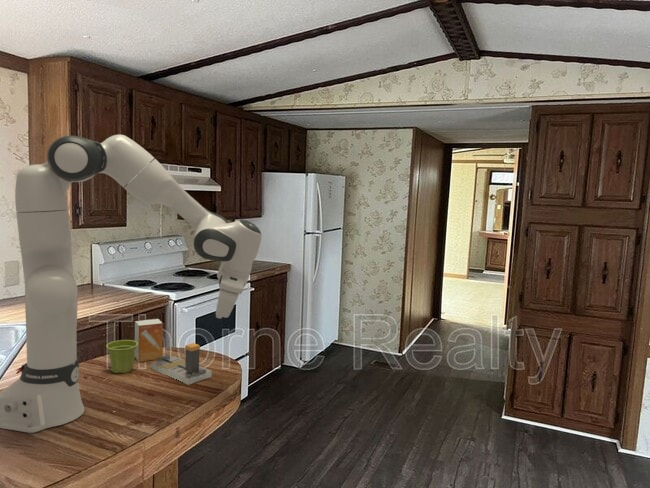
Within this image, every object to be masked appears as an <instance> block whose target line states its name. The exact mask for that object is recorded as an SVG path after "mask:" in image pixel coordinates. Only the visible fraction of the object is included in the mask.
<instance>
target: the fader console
mask: <svg viewBox="0 0 650 488" xmlns="http://www.w3.org/2000/svg"><path fill="white" fill-rule="evenodd" d="M185 360H186V359H183V358H181V357H178V356H175V355H172V356H171V355H169V354H164V355H162V356H161V357H157V359H156V360H153V361H151V362H150V370H153V371H155V372H157V373H160V374H162V375H165V376H167V375H168V376H167V377H169V376H170V377H169V378H171V377H172V379H173V378H174V380H176V379H177V380H176V381H178V380H179V381H178V382H180V381H181V382H180V383H182V382H183V384H184V385H187V386H189V385H192V384H195V383H197V382H201V381H203V380H207V379H209V378H211V377H212V375H213V373H212V372H213V371H212V370H211V369H208V368H206V367H203V366H202V365H201V366H200V365H199V370H198V371H195V372H192V373H190V372H188V371H185Z"/></svg>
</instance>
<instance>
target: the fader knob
mask: <svg viewBox="0 0 650 488" xmlns="http://www.w3.org/2000/svg"><path fill="white" fill-rule="evenodd" d="M184 349H185V359H184V360H185V371H188V372H190V373H192V372H195V371H198V370H199V366H200V349H201V345H200V344H197V343H194V342H193V343H189V344H186V345H184Z"/></svg>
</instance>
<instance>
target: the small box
mask: <svg viewBox="0 0 650 488" xmlns="http://www.w3.org/2000/svg"><path fill="white" fill-rule="evenodd" d="M163 326H164V323H163V322H162V321H161V320H160V318H152V319H144V320H136V321H134V341H136V342H137V343H138V345H137V346H136V350H135V354H134V359H136V360H137V362H138V363H143V362H147V361H157V357H161V356H163V335H164V334H163V328H164V327H163Z"/></svg>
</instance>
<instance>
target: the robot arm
mask: <svg viewBox="0 0 650 488" xmlns="http://www.w3.org/2000/svg"><path fill="white" fill-rule="evenodd" d="M46 159H47V161H45V162H44V163H42V164H41V163H40V164H30V165H27V166H25V167H22V168H21V169H19V171H18V172H17V174H16V178H15V190H14V200H15V201H14V203H15V211H16V212H15V213H16V221H17V232H18V239H19V247H20V254H21V256H20V257H21V261H22V269H23V270H22V271H23V277H24V279H23V280H24V303H25V306H24V307H25V333H26V335H25V337H26V338H25V340H26V342H25V343H26V345H25V346H26V362H25V363H24V364H22V365H21V367H19V368H17V369H15V371H16V373H15V374H16V375H17V374H20V373H21V374H20V377H19V378H18V379H16V380H14V382H13V383H11V384H10V385H8V386H7V387H6V388H5V389H3V390H2V391H1V392H0V429H4V430H10V431H17V432H23V433H28V434H33V433H37V432H41V431H43V430H45V429H49V428H53V427H57V426H61V425H65V424H67V423H70V422H73V421H75V420H77V419H78V418H79V417H81V416H82V415H83V414H84V412H85V407H84V404H83V400H82V397H81V393H80V387H79V386H80V385H79V378H80V362H79V361H80V360H79V358H78V354H77V351H78V349H77V348H78V347H77V328H78V327H77V325H78V303H79V302H78V301H79V300H78V296H79V295H78V294H79V293H78V292H79V288H78V285H77V282H76V280H75V276H74V268H73V253H72V252H73V251H72V250H73V249H72V236H71V235H72V234H71V225H70V213H69V206H68V190H69V187H70V185H73V184H76V183H81V182H86V181H89V180H90V179H92V178H93V177H94V176H95V175H97V174H105V175H107V176H109V177H111V178H112V179H113V180H114V181H115V182H117V184H118V185H120V186H121V187H122V188H123V189H124V190H126V191H127V192H128V193H129V194H130V195H132V197H135V199H137V200H138V201H140V202H142V203H144V204H146V205H162V206H166V207H168V208H171V209H172V210H173V211H174V212H175V213H176V214H178V215H179V216H180V217H182V219H184V220H185V221H186V222H187V223H189V224H190V226H191V227H192V228H193V230H194V232H195V233H194V238H193V248H194V251H195V253H197V255H198V256H199V257H200V258H203V259H205V260H210V261H214V262H216V261H217V262H220V265H219V267H218V271H217V274H216V277H217V279H218V289H219V294H218V298H217V299H218V300H217V304H216V309H215V318H217V319H222V318H229V317H230V315H231V313H232V311H233V309H234V307H235V305H236V302H237V300H238V297H239V295H241V294H243V291H244V289H245V287H246V285H247V283H248V280H249V277H250V275H251V271H252V268H253V263H254V261H255V260H256V258H257V255H258V253H259V250H260V247H261V246H260V245H261V242H262V231H261V230H260V228H259V227H258V226H257V225H256V224H254V223H253V222H251V221H249V220H246V219H239V220H236V221H232V222H229V220H227V219H226V218H225V217H224V216H222V215H220V214H219V213H216V212H213V211H210V209H209V210H208V209H207V208H206V207H204V206H203V205H202V204H201V203H199V201H198V200H196V199H195V198H194V197H193V196H192V195H190V194H189V193H188V192H187V191H186V190H185V189H184V188H183V187H181V185H180V184H179V183H178V182H177V181H176V179H175V178H174V177H173V176H172V175H171V174H170V173H169V172H168V170H167V169H166V168H165V167H164V166H163V165H162V164H161V163H160V162H159V160H157V159H156V158H155V157H154V156H153V155H152V154H151V153H150V152H148V151H147V150H146V149H145V148H144V147H142V146H141V145H140V144H138V143H137V142H136V141H134V140H133V139H131V138H130V137H128V136H127V135H124V134H114V135H111V136H109V137H107V138H106V139H105V140H103V141H102V142H99V141H95V140H92V139H88V138H86V137H82V136H78V135H64V136H61V137H58V138H57V139H55V140H54V141H53V142H51V144H50V145H49V148H48V150H47V154H46Z"/></svg>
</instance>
